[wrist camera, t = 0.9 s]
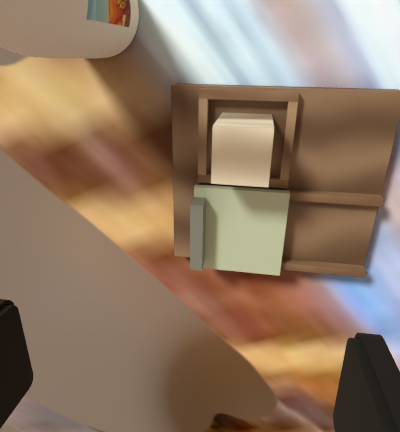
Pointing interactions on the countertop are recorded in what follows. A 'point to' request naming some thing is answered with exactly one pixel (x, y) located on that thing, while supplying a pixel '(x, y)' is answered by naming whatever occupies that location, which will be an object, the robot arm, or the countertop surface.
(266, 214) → the lid
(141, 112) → the countertop surface
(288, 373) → the countertop surface
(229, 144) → the block
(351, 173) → the board
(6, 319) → the robot arm
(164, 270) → the countertop surface
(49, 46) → the milk bottle
